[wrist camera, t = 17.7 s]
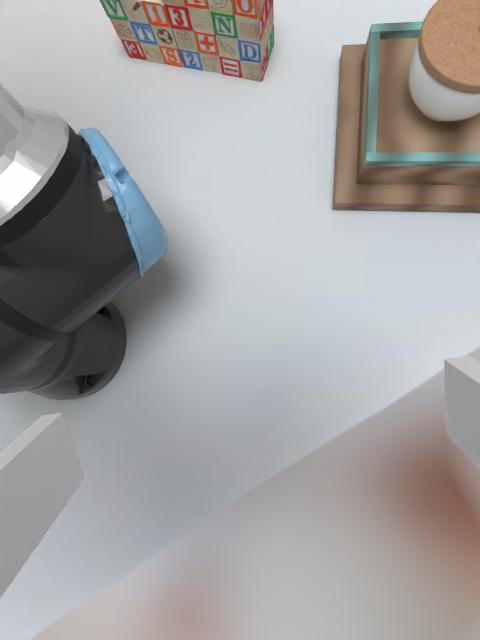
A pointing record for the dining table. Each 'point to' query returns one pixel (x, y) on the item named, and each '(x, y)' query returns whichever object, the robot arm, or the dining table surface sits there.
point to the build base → (381, 192)
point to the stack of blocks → (197, 33)
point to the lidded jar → (447, 62)
